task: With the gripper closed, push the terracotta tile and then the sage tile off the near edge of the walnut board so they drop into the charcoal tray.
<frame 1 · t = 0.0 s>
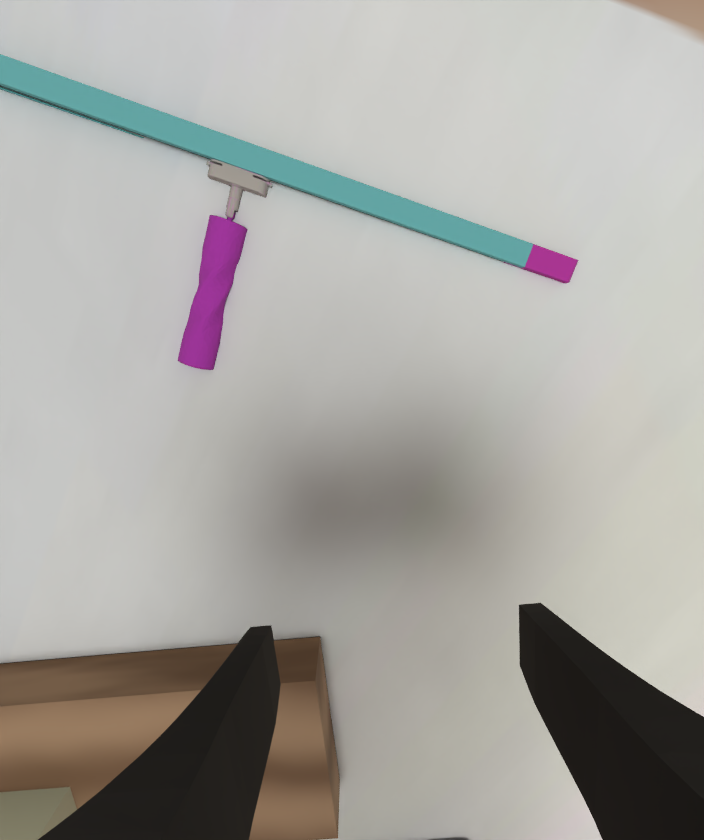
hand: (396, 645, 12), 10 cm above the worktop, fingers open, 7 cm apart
tile sage: (43, 817, 22), point 3 cm above the worktop, touching board
board: (134, 727, 25), on the worktop
squeegee: (254, 274, 20), on the worktop
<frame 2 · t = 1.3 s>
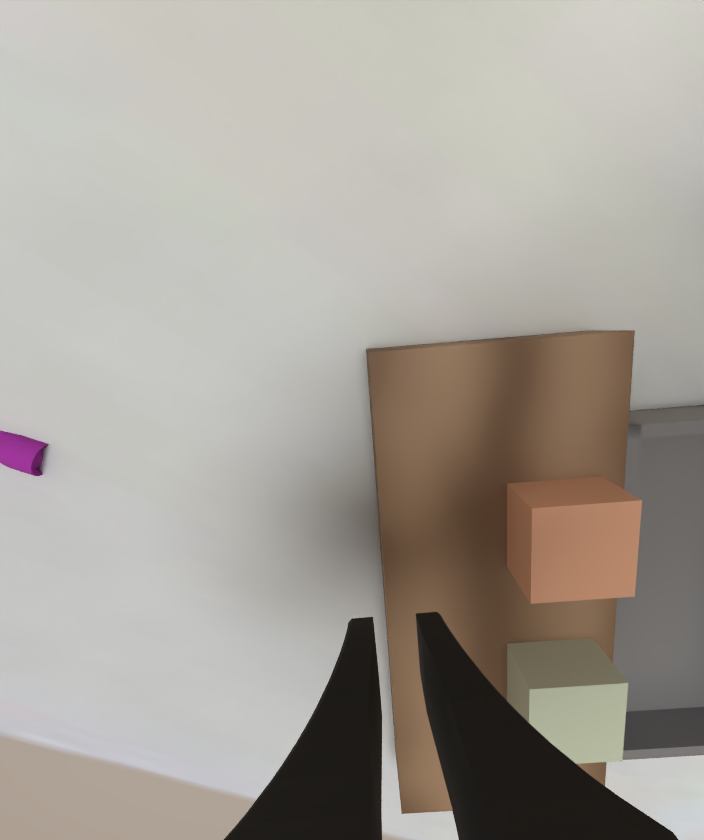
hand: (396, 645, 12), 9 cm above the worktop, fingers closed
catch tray: (663, 573, 22), on the worktop
tile sage: (549, 676, 20), point 3 cm above the worktop, touching board
board: (481, 569, 22), on the worktop
tile terracotta: (553, 523, 18), point 3 cm above the worktop, touching board
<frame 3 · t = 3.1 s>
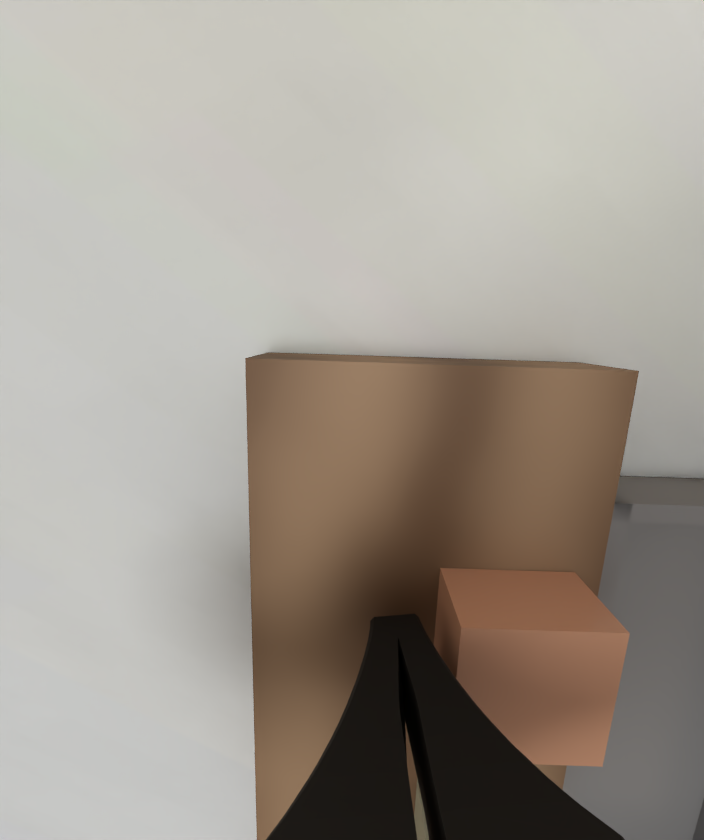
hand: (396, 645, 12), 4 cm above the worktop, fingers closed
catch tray: (637, 686, 17), on the worktop
tile sage: (470, 825, 14), point 3 cm above the worktop, touching board
board: (402, 659, 16), on the worktop
tile terracotta: (500, 628, 13), point 3 cm above the worktop, touching gripper
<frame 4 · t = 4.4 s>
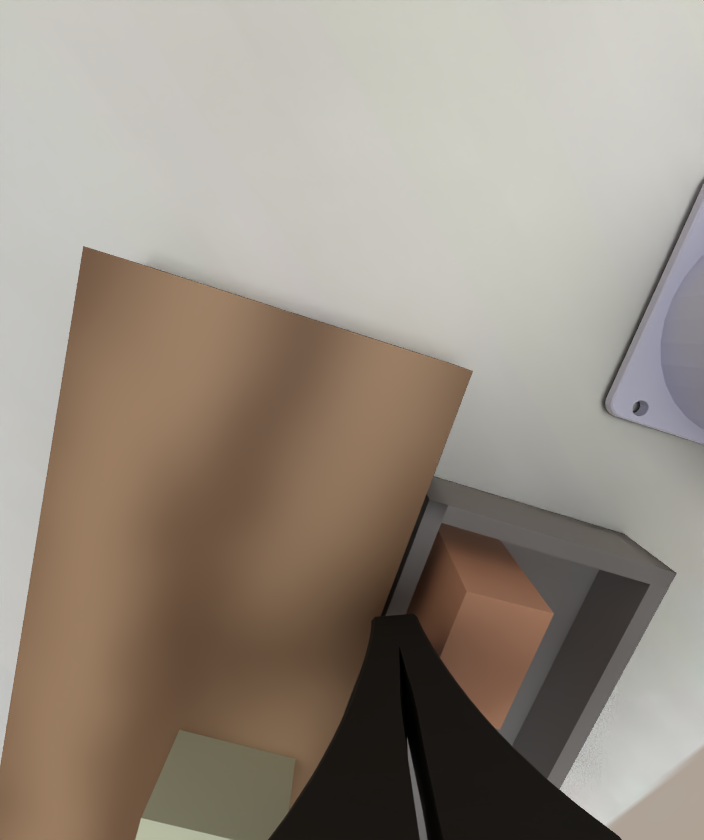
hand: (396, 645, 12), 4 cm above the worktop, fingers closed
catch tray: (438, 697, 17), on the worktop
tile sage: (224, 789, 14), point 3 cm above the worktop, touching board
board: (215, 615, 16), on the worktop
tile terracotta: (426, 604, 13), point 2 cm above the worktop, tilted 91°, touching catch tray, gripper
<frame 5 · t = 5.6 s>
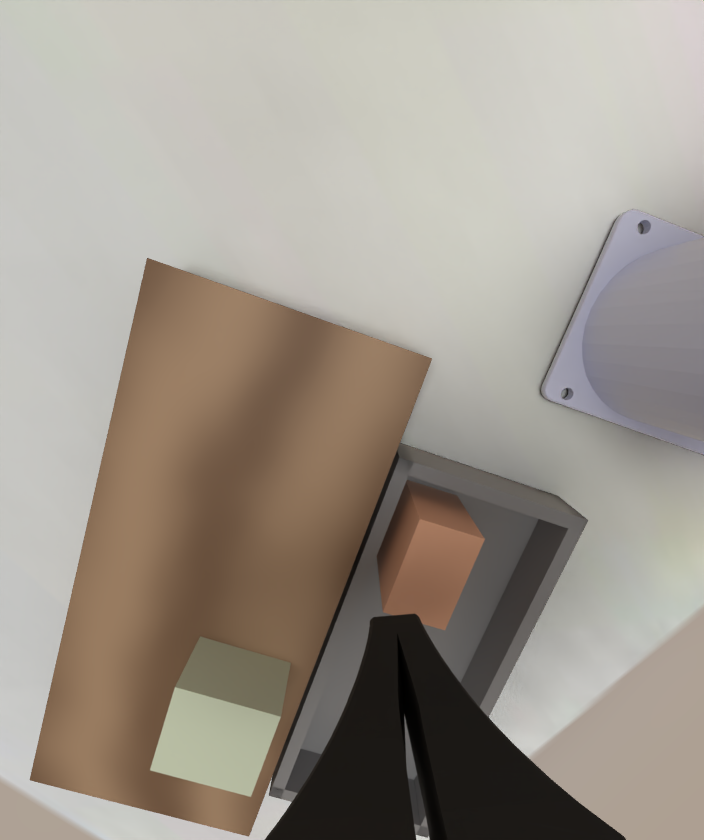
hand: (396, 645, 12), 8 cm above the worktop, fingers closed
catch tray: (407, 629, 21), on the worktop
tile sage: (233, 687, 18), point 3 cm above the worktop, touching board
board: (228, 555, 20), on the worktop
tile terracotta: (395, 539, 17), point 2 cm above the worktop, tilted 90°, touching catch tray
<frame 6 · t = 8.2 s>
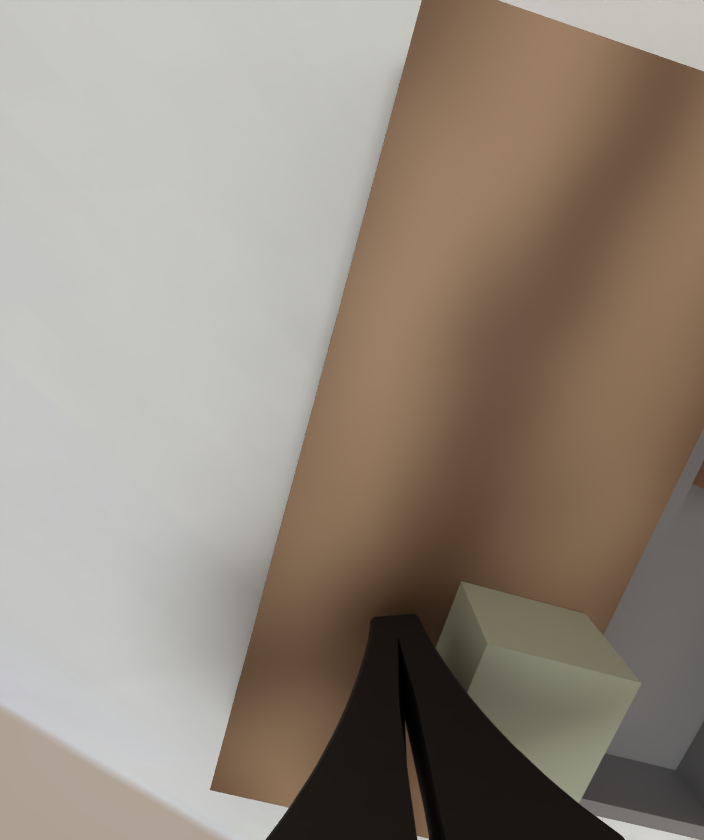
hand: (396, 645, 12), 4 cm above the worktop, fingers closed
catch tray: (680, 570, 15), on the worktop
tile sage: (500, 651, 13), point 3 cm above the worktop, touching gripper
board: (447, 480, 15), on the worktop
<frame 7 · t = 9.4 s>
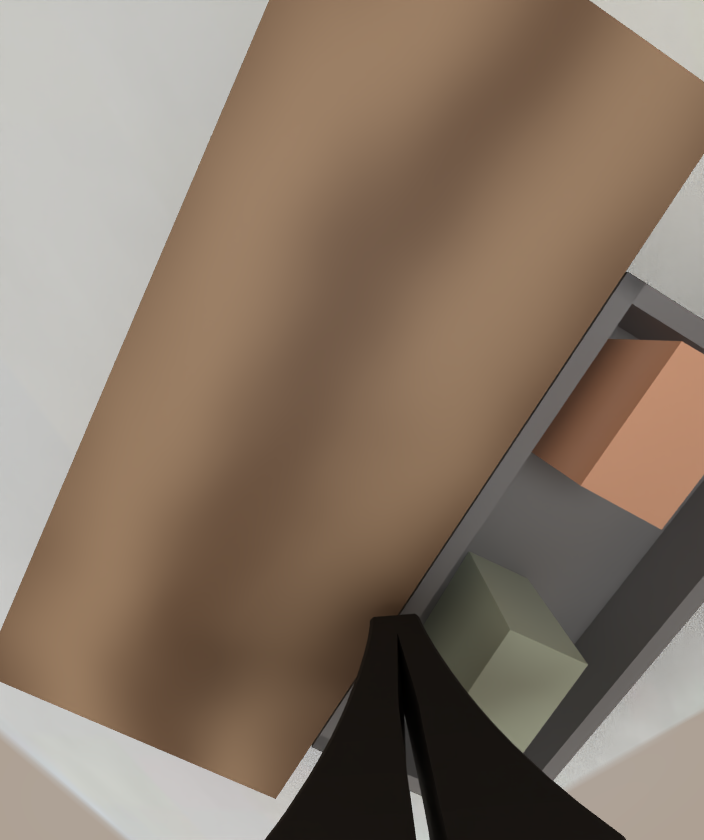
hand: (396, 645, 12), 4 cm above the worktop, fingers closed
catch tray: (525, 556, 15), on the worktop
tile sage: (455, 633, 13), point 2 cm above the worktop, tilted 90°, touching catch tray
board: (311, 411, 14), on the worktop
tile terracotta: (583, 401, 12), point 2 cm above the worktop, tilted 90°, touching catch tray
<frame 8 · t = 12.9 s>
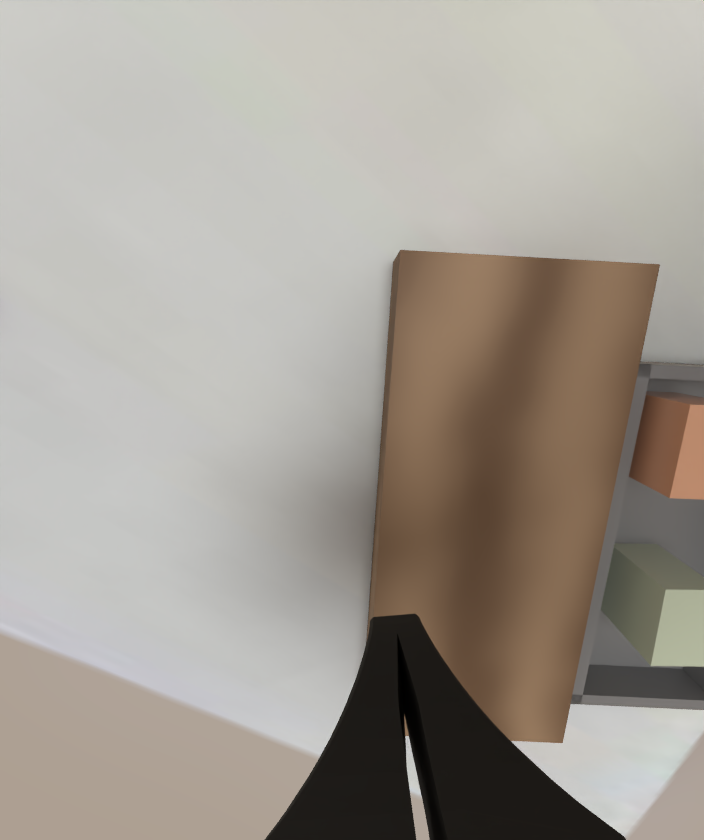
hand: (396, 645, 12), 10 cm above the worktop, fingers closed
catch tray: (648, 529, 22), on the worktop
tile sage: (628, 600, 20), point 2 cm above the worktop, tilted 90°, touching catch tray
board: (474, 503, 22), on the worktop
tile terracotta: (645, 439, 19), point 2 cm above the worktop, tilted 90°, touching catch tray
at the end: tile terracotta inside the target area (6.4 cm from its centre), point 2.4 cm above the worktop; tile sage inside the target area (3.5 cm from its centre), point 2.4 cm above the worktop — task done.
